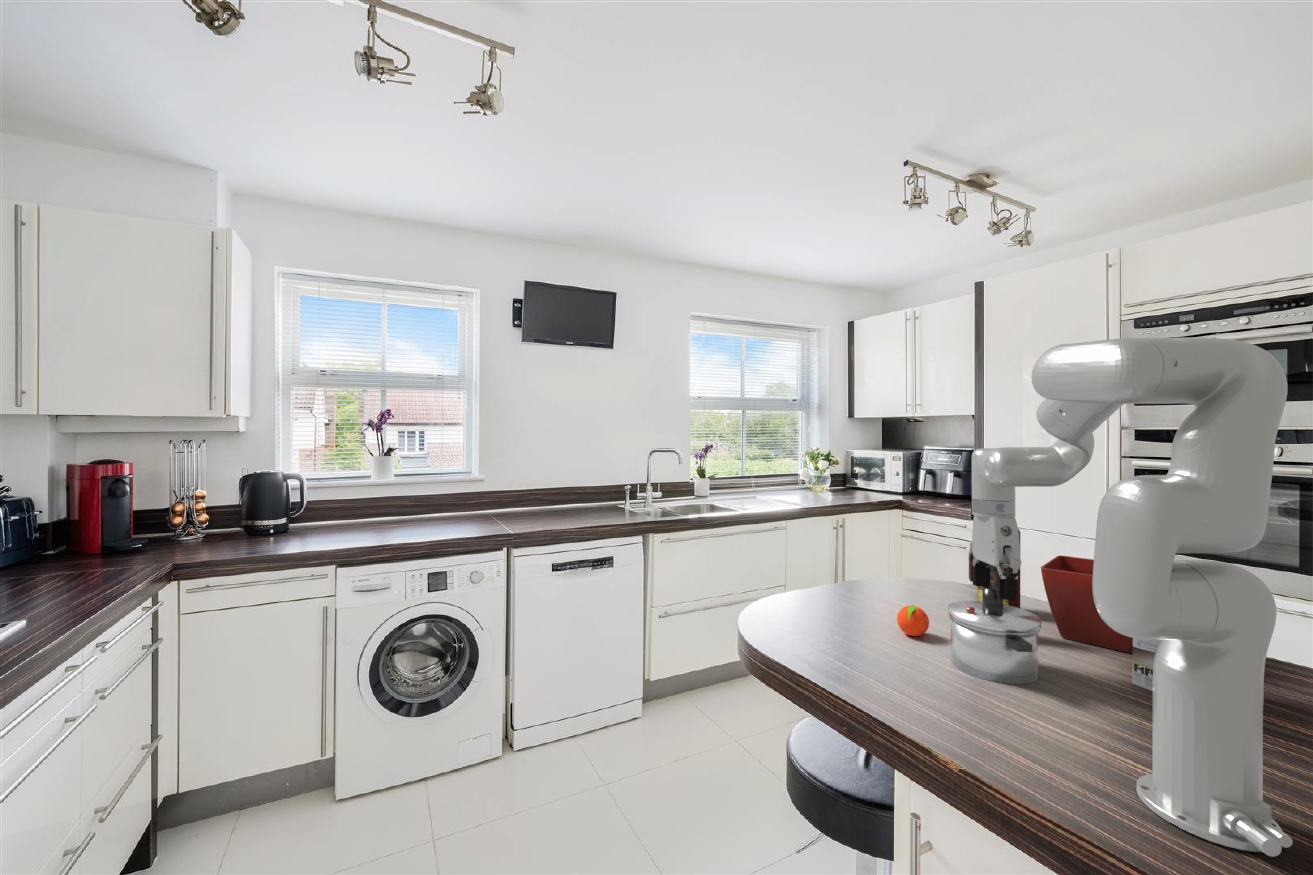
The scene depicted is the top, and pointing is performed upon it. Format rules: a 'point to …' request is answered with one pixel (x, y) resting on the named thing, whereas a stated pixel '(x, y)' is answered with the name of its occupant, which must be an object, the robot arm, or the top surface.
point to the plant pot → (1078, 604)
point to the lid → (994, 614)
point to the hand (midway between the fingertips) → (994, 592)
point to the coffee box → (1143, 662)
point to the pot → (994, 653)
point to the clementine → (913, 620)
